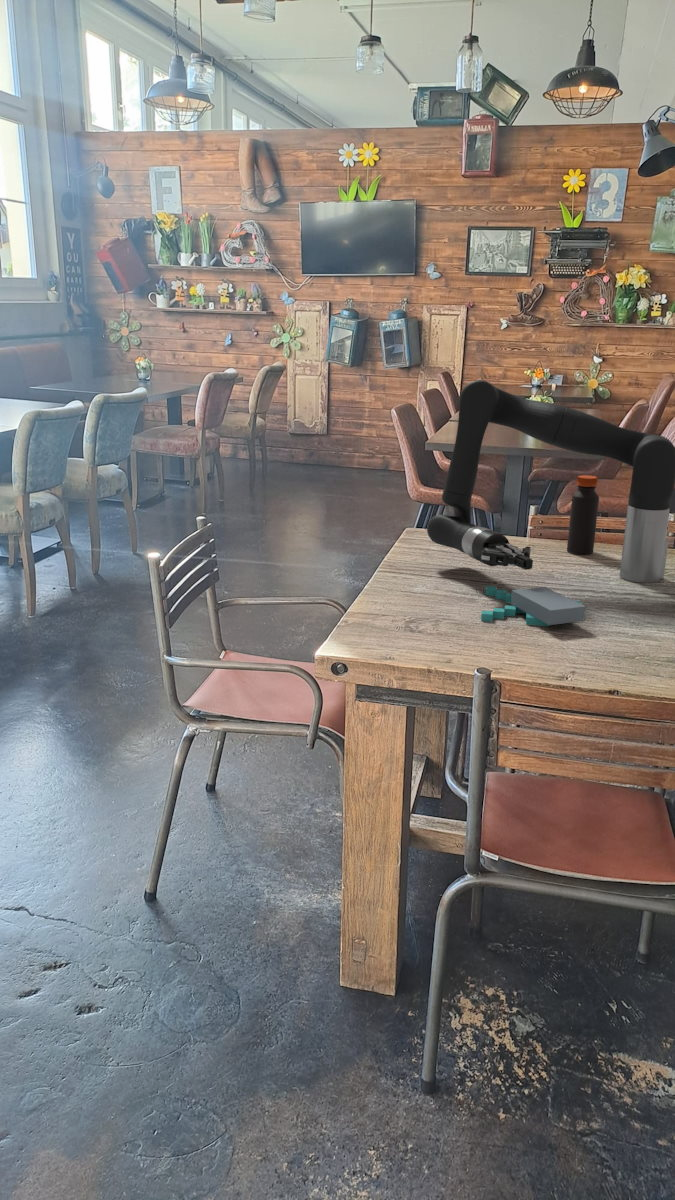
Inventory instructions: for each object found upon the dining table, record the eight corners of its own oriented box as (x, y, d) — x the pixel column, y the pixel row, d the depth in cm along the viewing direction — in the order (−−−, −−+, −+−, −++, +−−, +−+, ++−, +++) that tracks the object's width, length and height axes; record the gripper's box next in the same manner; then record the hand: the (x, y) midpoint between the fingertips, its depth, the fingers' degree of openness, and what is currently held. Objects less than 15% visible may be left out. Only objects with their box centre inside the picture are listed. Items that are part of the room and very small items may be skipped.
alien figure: (480, 624, 173) (583, 632, 169) (481, 613, 172) (584, 621, 168) (485, 595, 191) (578, 601, 187) (486, 585, 190) (579, 592, 187)
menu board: (544, 586, 180) (585, 606, 167) (543, 600, 181) (583, 621, 168) (511, 590, 177) (550, 610, 164) (510, 604, 178) (549, 625, 165)
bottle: (597, 554, 224) (606, 478, 218) (574, 555, 222) (581, 479, 216) (585, 548, 230) (593, 474, 224) (562, 549, 229) (569, 474, 222)
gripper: (460, 531, 191) (504, 550, 176) (510, 527, 196) (557, 544, 181) (458, 564, 193) (501, 585, 178) (508, 559, 198) (554, 578, 183)
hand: (529, 564), depth 179 cm, fingers closed
